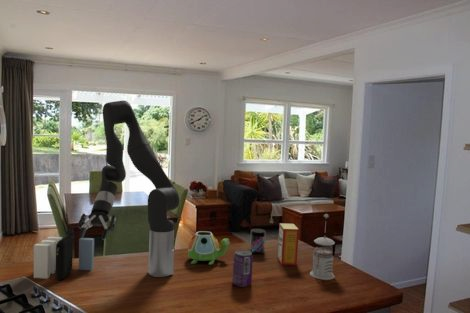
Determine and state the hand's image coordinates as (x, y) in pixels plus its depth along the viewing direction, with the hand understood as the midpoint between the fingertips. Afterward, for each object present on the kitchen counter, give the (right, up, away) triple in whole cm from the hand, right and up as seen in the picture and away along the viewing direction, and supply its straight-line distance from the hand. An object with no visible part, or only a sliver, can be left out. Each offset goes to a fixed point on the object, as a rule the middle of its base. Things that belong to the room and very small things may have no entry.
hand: (92, 238), depth 150 cm
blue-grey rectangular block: (-1, -11, -4) cm, 12 cm away
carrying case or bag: (-6, -12, -13) cm, 18 cm away
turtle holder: (+45, -12, +12) cm, 48 cm away
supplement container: (+67, -12, +25) cm, 73 cm away
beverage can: (+60, -15, -11) cm, 62 cm away
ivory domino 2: (-13, -10, -5) cm, 17 cm away
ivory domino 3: (-13, -11, -9) cm, 19 cm away
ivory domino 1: (-13, -11, -13) cm, 22 cm away
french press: (+92, -15, +1) cm, 93 cm away
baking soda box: (+80, -14, +16) cm, 82 cm away
